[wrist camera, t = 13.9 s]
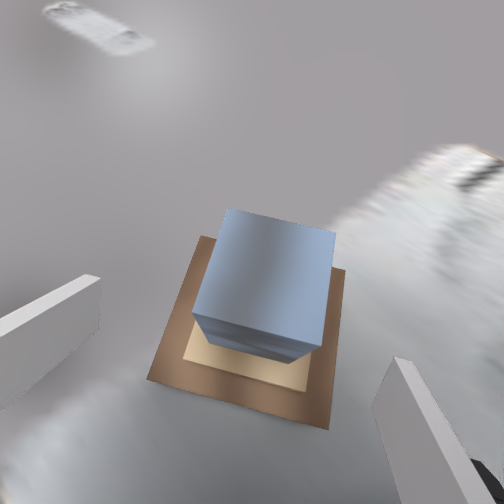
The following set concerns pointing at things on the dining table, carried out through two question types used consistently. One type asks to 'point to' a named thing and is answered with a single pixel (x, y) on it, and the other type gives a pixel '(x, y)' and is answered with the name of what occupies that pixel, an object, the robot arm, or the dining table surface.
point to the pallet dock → (237, 387)
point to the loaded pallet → (263, 300)
